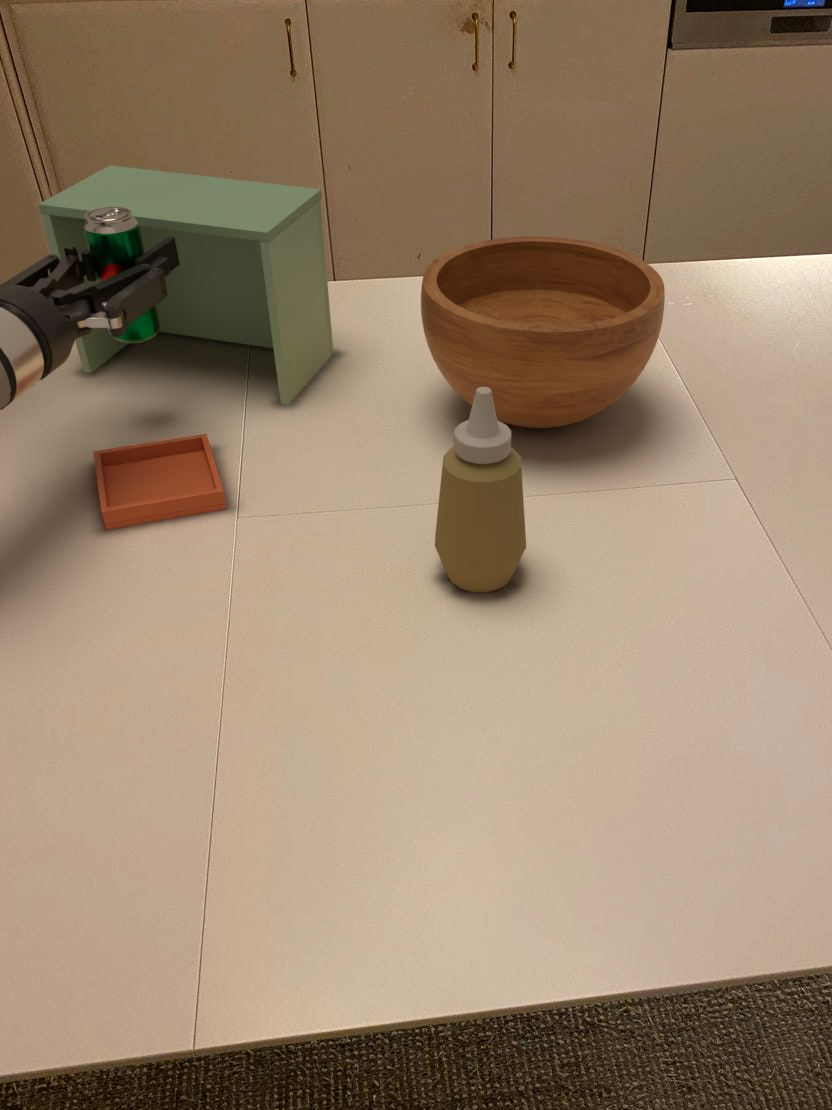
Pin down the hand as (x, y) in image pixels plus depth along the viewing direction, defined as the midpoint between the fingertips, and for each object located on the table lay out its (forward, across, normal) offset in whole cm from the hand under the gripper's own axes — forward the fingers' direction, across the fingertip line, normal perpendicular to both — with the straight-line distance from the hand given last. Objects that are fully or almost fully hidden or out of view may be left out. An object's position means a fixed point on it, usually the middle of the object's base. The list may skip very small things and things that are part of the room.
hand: (147, 247), depth 100 cm
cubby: (+9, 0, -17) cm, 19 cm away
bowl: (+9, +39, -17) cm, 44 cm away
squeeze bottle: (-21, +41, -17) cm, 49 cm away
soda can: (-5, 0, -7) cm, 9 cm away
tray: (-17, +7, -17) cm, 25 cm away
